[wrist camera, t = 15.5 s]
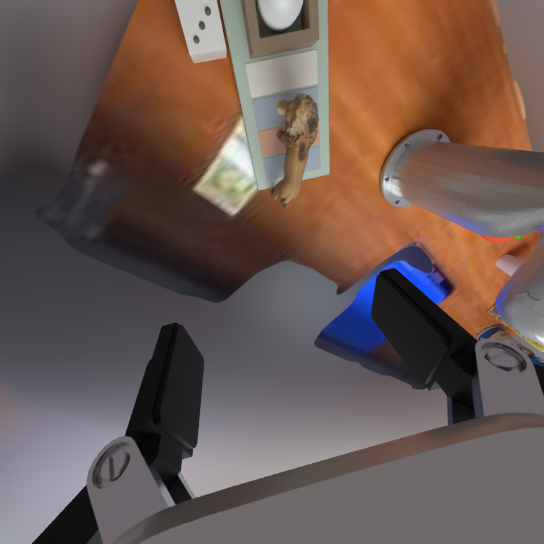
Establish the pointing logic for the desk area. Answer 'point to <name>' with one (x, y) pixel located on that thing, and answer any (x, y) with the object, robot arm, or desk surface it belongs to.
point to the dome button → (278, 14)
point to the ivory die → (202, 29)
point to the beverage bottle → (501, 335)
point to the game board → (279, 81)
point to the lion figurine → (295, 143)
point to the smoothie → (508, 263)
